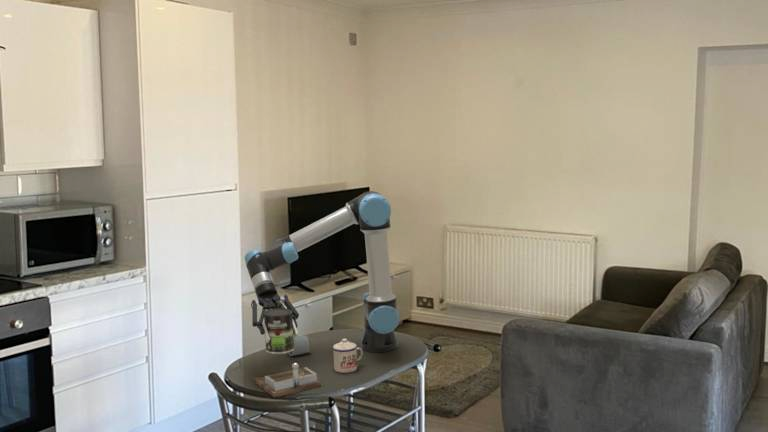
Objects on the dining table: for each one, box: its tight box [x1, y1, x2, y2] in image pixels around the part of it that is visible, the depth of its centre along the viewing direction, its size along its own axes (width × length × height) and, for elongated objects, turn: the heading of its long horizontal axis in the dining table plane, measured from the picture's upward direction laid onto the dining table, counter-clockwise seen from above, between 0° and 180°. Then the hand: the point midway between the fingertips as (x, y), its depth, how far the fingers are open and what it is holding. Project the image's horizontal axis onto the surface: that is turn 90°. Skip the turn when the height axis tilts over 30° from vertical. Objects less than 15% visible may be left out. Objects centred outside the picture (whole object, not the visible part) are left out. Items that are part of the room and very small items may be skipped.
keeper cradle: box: [264, 362, 318, 392], centre depth 271 cm, size 10×16×9 cm, turn 120°
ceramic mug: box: [288, 335, 312, 357], centre depth 310 cm, size 11×8×8 cm
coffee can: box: [263, 308, 294, 355], centre depth 276 cm, size 10×10×14 cm
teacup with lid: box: [332, 338, 364, 374], centre depth 289 cm, size 12×9×12 cm
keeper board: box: [254, 368, 322, 398], centre depth 275 cm, size 18×18×2 cm
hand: (282, 338), depth 274 cm, fingers closed on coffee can, 10 cm apart
